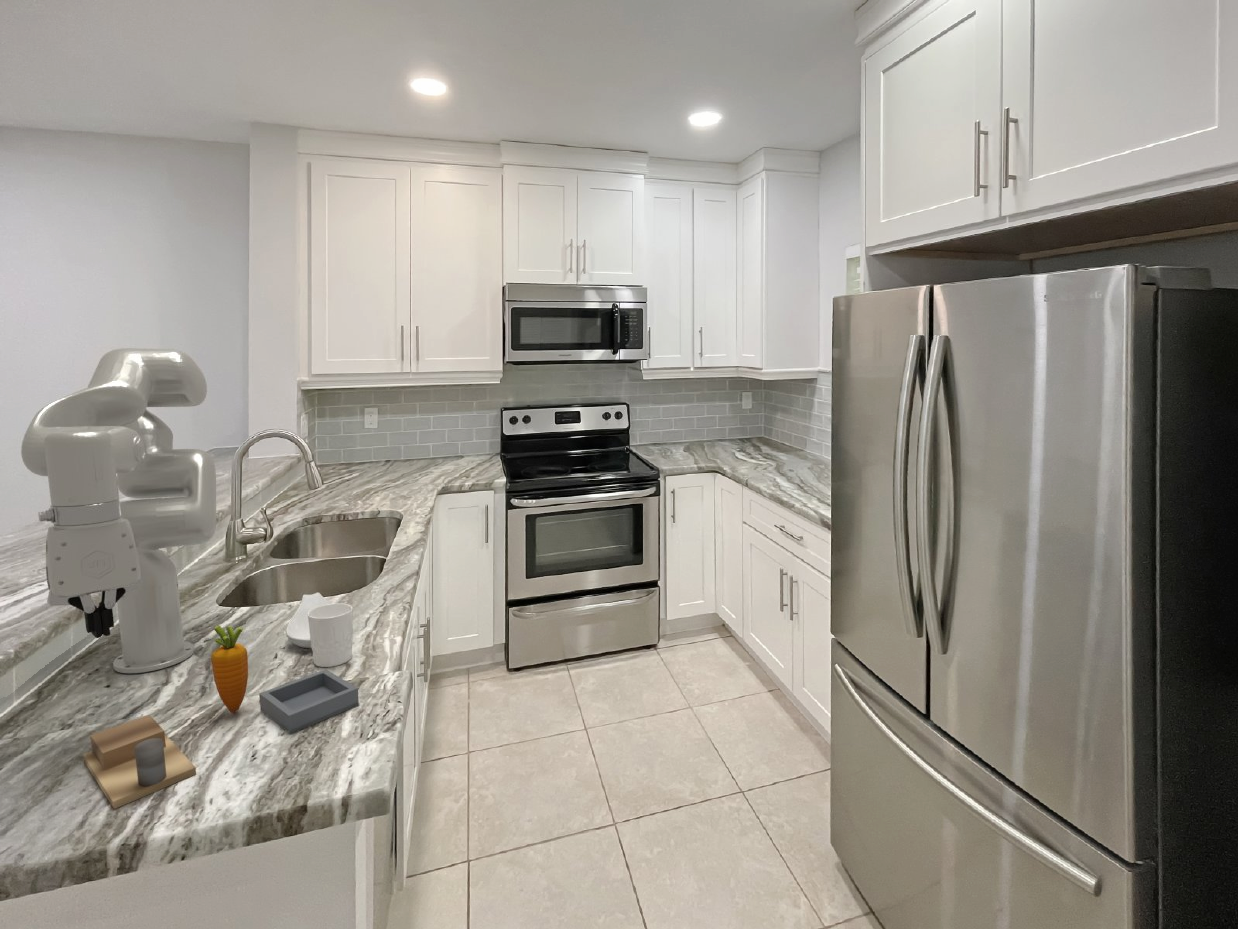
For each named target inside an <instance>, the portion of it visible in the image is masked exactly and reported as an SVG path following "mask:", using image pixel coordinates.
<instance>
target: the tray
mask: <svg viewBox="0 0 1238 929" xmlns="http://www.w3.org/2000/svg"><path fill="white" fill-rule="evenodd" d="M258 695H259V703H260V704H259V705H260V706H259V707H260V708H259V709H260V711H261V712H262V713H263V714H264V715H266V717H269V718H270V719H271V720H272V721H273V722H275V723H276V724H277V726H279V727H281V728H282V729H283V730H285V731H286V732H287V733H288V734H290V735H291V734H294V733H296V732H299V731H301V730H303V729H306V728H308V727H310V726H313V725H315V724H318V723H320V722H323V721H326V720H327V719H329V718H332V717H334V716H336V715H339V714H341V713H344V712H346V711H349V710H351V709H353V708H356V707H358V706H359V705H360V703H359V688H358V687H356V686H355V685H354V684H351V683H350V682H348V681H347V680H345V679H344V678H342V677H340V676H338V675H337V674H336V673H333V672H331V671H330V670H328V669H327V668H326V669H325V668H324V670H323V669H322V670H320V671H318V672H315V673H312V674H309V675H307V676H304V677H300V678H298V679H295V680H292V681H290V682H287V683H284V684H281V685H278V686H276V687H274V688H270V689H268V690H267V689H266V690H264V691H262V692H259V693H258Z"/></svg>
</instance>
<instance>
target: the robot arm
mask: <svg viewBox="0 0 1238 929" xmlns="http://www.w3.org/2000/svg"><path fill="white" fill-rule="evenodd" d="M207 386H208V385H207V381H206V377H205V375H204V373H203V372H202V370H201V368H200V367H199V366H198V364H197V363H196V362H195V361H194V359H193V358H192V357H190V355H189V354H187V353H185V352H183V351H181V350H178V349H172V348H171V349H170V348H135V347H134V348H133V347H132V348H130V347H129V348H117V349H112V350H110V351H108V352H106V353H105V354H104V355H102V357H101V358H100V359H99V362H98V364H97V366H96V368H95V370H94V371H93V375H92V377H91V379H90V381H89V383H88V385H87V387H85V388H83V389H80V390H78V391H75V392H72V393H70V394H68V395H66V396H64V397H62V398H59V399H56V400H55V401H52V402H50V403H48V404H46V405H45V406H44V407H42V408H41V409H40V410H39V411H37V412H36V414H35V415H34V417H33V418H32V420H31V422H30V424H29V425H28V427H27V429H26V431H25V433H24V436H23V440H22V443H21V447H20V448H21V452H20V456H21V458H22V463H23V465H24V466H25V467H26V469H28V471H30V472H31V473H33V474H35V475H38V476H41V477H47V480H48V487H49V496H50V503H51V504H50V506H49V507H50V508H48V509H47V510H45V511H38V521H39V522H49V523H52V524H53V526H50V527H48V528H47V534H46V542H45V574H46V583H47V589H48V590H49V591H48V596H47V604H48V605H50V606H52V607H53V606H54V607H56V606H59V607H60V606H61V607H62V606H72V607H74V608H76V609H77V610H80V611H83V613H84V622H85V629H86V632H87V633H88V634H90V633H91V634H92V635H93V636H94V638H96V639H100V638H102V637H104V636H105V637H107V636H110V635H111V629H112V628H114V627H115V621H114V614H113V613H114V612H113V610H114V609H113V608H115V606H117V613H118V617H117V618H118V623H119V624H118V625H119V633H120V641H121V642H120V643H121V649H122V651H121V652H122V654H120V655H119V656H117V657H116V658H115V659H114V660H113V663H112V666H113V670H114V671H115V672H118V673H122V674H141V673H149V672H153V671H158V670H162V669H165V668H169V667H172V666H175V665H176V664H180V663H181V662H183V661H185V660H187V659H188V658H190V657H191V656H192V655H193V654H194V652H195V647H194V644H193V643H192V642H191V641H186V640H184V631H183V620H182V611H181V610H182V609H181V601H180V600H181V599H180V591H179V590H180V588H179V581H178V571H177V568H176V565H175V563H174V562H173V561H172V559H170V557H168V556H167V555H166V554H165V553H164V552H163V551H162V550H161V549H165V548H166V549H167V548H175V547H176V548H177V547H186V546H187V547H188V546H195V545H202V544H205V543H208V542H209V541H211V539H212V538H213V537H214V536H215V532H216V525H217V475H216V467H215V461H214V460H213V457H212V456H211V455H210V453H208V452H207V451H205V450H203V449H200V448H198V449H197V448H184V449H183V448H180V449H179V448H178V449H173V445H174V444H173V442H174V434H173V431H172V430H171V428H170V427H169V426H168V425H167V424H166V422H164V421H163V420H162V419H161V418H159V417H158V416H156V414H154V413H152V412H150V411H149V410H148V409H147V408H174V407H175V408H180V407H181V408H182V407H183V408H184V407H185V408H189V407H191V408H192V407H197V406H200V405H201V404H202V403H204V401H205V399H206V397H207V395H208V394H207V392H208V390H207V389H208V387H207ZM119 493H121V494H122V495H124V496H125V497H128V498H132V499H131V500H125V501H121V502H120V495H119ZM100 592H101V594H100V601H99V603H98V606H96V605H95V603H94V600H93V598H92V594H95V593H96V594H97V593H100Z"/></svg>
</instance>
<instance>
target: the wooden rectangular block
mask: <svg viewBox="0 0 1238 929" xmlns="http://www.w3.org/2000/svg"><path fill="white" fill-rule="evenodd" d="M165 734H166V733H165V730H164V729H163V728H162V727H161V726H160V724H159V723H158V722H157V721H156V720H155V719H154V718H153V717H152V715H150V714H148V715H144V716H142V717H139V718H136V719H133V720H130V721H127V722H124V723H121V724H118V725H116V726H112V727H110V728H107V729H103V730H101V731H98V732H96V733H92V734H90V735H89V738H90V744H91V746H90V747H91V752H93V753H94V755H95V756H96V758H97V760H98V761H99V763H100V764H101V766H102V767H103V769H104V770H107V769H109V768H112V767H115V766H117V765H120V764H122V763H125V762H128V761H130V760H133V759H135V749H134V748H135V746H136V745H137V744H139V743H141V742H143V741H145V740H148V739H152V738H161V739H162V740H163V747H166V743H165Z"/></svg>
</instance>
